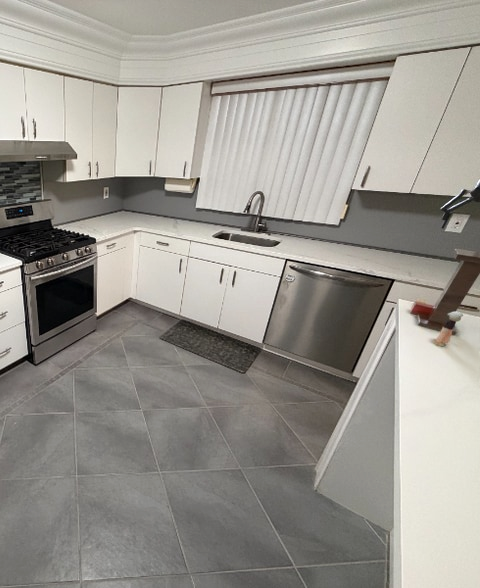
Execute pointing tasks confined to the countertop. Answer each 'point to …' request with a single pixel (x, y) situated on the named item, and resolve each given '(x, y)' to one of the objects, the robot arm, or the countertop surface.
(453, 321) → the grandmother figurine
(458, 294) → the shelf stand
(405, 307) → the countertop surface
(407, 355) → the countertop surface
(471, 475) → the countertop surface
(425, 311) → the toy mallet
